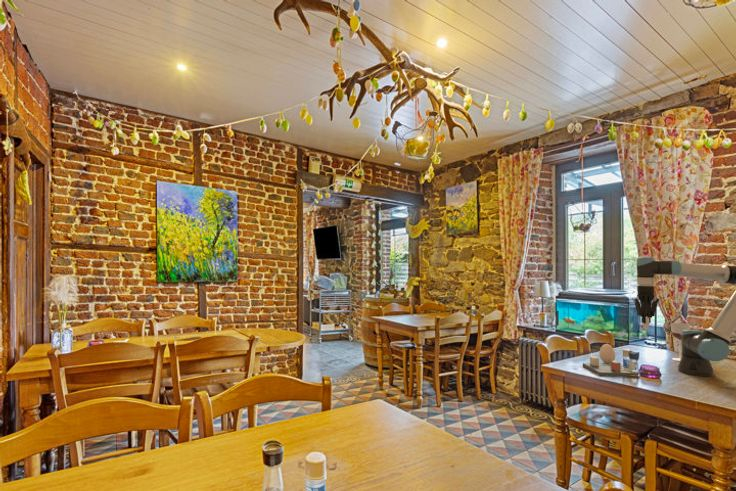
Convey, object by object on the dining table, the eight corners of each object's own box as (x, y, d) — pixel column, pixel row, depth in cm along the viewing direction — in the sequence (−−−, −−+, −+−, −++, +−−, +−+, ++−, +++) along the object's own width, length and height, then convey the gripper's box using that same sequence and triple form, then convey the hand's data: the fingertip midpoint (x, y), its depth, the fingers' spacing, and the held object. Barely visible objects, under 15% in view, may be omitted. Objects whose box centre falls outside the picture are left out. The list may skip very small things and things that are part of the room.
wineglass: (693, 361, 240) (693, 325, 240) (677, 361, 240) (677, 325, 240) (682, 357, 248) (682, 322, 249) (667, 357, 248) (666, 322, 249)
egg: (598, 361, 239) (598, 342, 239) (613, 362, 236) (613, 343, 236) (600, 364, 231) (600, 344, 232) (616, 366, 228) (616, 346, 229)
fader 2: (616, 368, 214) (616, 360, 214) (620, 370, 210) (620, 362, 210) (610, 368, 215) (610, 360, 215) (614, 370, 211) (614, 362, 211)
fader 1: (595, 363, 224) (595, 356, 224) (599, 365, 220) (599, 358, 220) (589, 363, 224) (589, 356, 224) (593, 365, 220) (593, 358, 220)
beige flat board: (618, 367, 225) (618, 363, 225) (638, 377, 207) (638, 373, 208) (582, 366, 226) (582, 362, 226) (599, 376, 208) (599, 372, 208)
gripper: (653, 285, 216) (654, 328, 216) (628, 284, 217) (629, 328, 216) (662, 286, 209) (663, 330, 208) (637, 285, 209) (638, 330, 209)
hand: (646, 329), depth 212 cm, fingers closed
